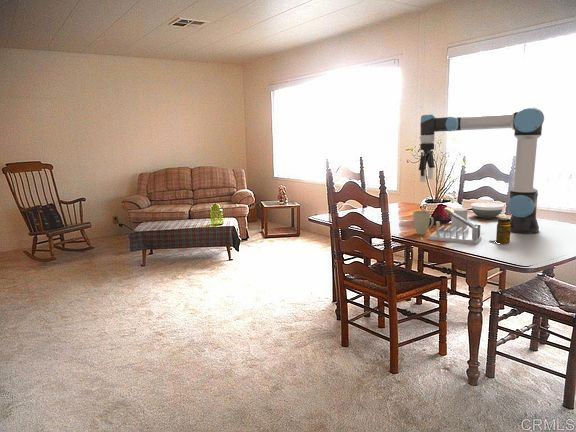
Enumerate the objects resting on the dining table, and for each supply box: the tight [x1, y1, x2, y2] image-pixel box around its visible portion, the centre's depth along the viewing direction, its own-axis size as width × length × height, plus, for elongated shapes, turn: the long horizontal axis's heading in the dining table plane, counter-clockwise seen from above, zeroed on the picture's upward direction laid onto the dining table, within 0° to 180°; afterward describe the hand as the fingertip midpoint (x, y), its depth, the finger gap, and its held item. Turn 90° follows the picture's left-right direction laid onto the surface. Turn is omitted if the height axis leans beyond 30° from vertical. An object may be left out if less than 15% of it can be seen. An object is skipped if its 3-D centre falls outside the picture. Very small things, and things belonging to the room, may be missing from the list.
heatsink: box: [428, 221, 483, 245], centre depth 212 cm, size 23×12×8 cm, turn 55°
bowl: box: [470, 201, 505, 220], centre depth 260 cm, size 19×19×8 cm
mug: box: [412, 210, 435, 235], centre depth 226 cm, size 11×10×12 cm
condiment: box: [488, 217, 513, 246], centre depth 202 cm, size 7×8×12 cm
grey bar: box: [442, 206, 481, 230], centre depth 209 cm, size 19×4×2 cm
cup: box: [450, 207, 468, 233], centre depth 230 cm, size 8×8×12 cm
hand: (426, 180), depth 236 cm, fingers open, 13 cm apart
